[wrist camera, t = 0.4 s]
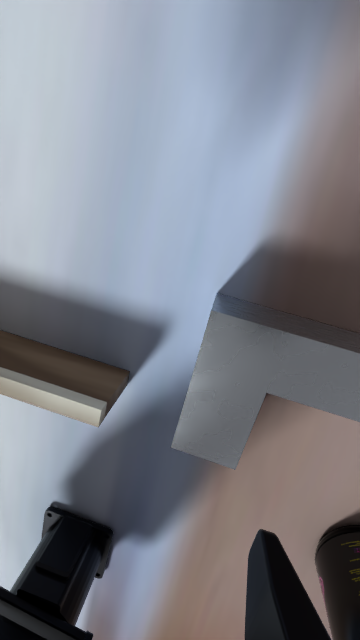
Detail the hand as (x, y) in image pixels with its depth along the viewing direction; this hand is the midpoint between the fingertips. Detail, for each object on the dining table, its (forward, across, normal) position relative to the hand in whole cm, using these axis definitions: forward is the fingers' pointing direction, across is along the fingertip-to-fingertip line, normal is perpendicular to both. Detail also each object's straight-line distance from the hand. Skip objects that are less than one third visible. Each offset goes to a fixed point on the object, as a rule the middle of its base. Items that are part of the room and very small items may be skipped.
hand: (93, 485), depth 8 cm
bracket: (+13, -6, +1) cm, 14 cm away
